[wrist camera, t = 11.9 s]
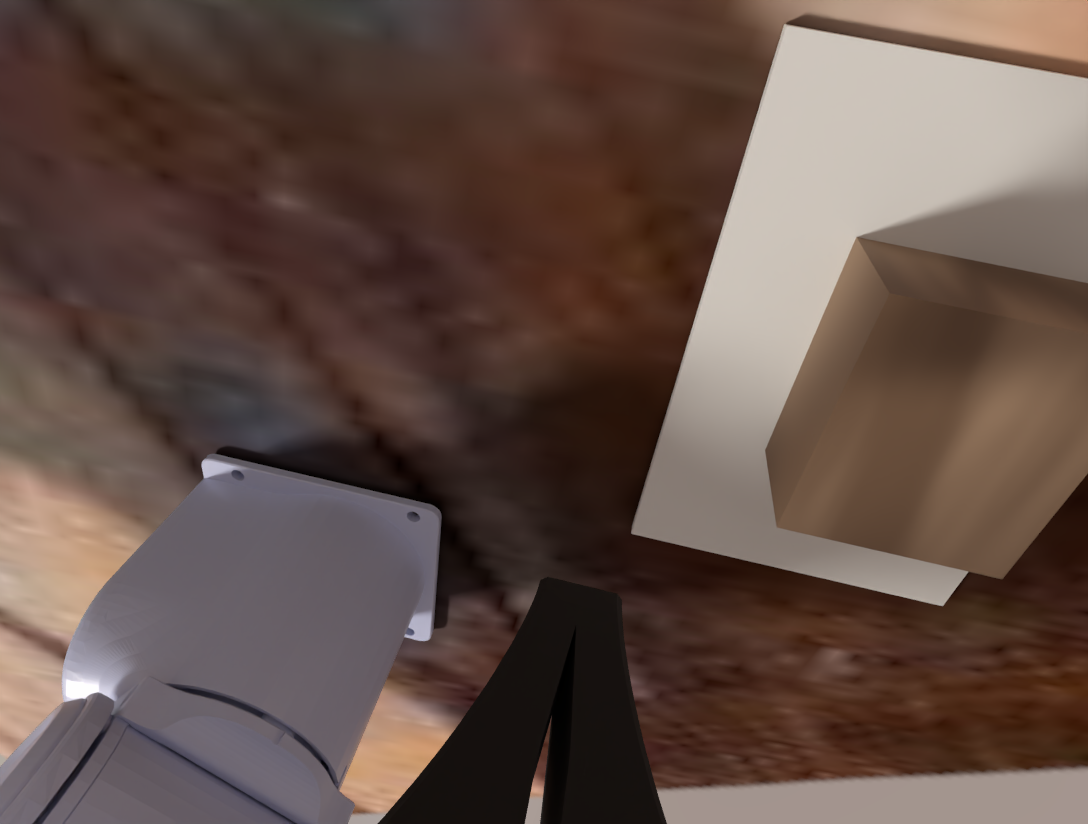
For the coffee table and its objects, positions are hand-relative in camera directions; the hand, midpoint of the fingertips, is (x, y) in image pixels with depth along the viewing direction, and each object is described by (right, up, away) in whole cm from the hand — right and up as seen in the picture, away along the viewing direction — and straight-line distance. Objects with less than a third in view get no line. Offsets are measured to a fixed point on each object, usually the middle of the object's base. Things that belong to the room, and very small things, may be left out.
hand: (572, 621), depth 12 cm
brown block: (+7, +4, +6) cm, 10 cm away
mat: (+9, +5, +8) cm, 13 cm away
